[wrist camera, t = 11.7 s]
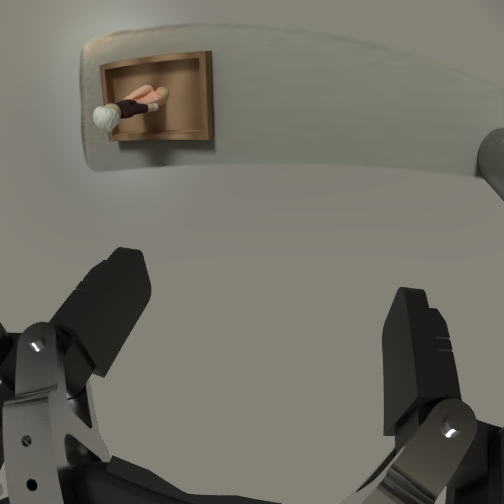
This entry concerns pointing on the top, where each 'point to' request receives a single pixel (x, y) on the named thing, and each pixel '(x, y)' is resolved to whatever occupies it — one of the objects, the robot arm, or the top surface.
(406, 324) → the robot arm
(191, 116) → the walnut tray
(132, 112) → the grandmother figurine
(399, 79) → the top surface
